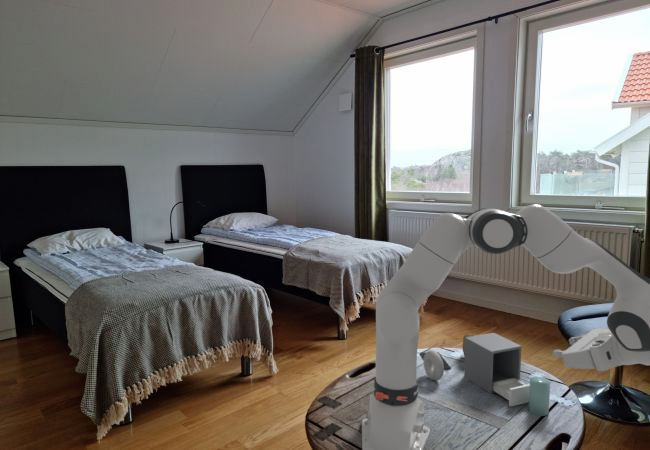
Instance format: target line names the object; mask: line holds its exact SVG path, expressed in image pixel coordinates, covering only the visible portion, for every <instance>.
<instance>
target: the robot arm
mask: <svg viewBox="0 0 650 450" xmlns="http://www.w3.org/2000/svg"><path fill="white" fill-rule="evenodd" d="M519 246H522V247H523V248H525V249H526V250H527V251H528V252H529V253H530V254H531V255H532V256H533V257H534V258H535V259H536V260H537V261H538V262H539V263H540V264H541V265H542V266H543V267H545V268H546V269H548V271H551V272H552V273H555V274H561V275H562V274H563V275H566V274H572V273H575V272H577V271H579V270H581V269H583V268H590V269H591V270H593V271H595V272H596V274H598V275H600V276H601V277H602V278H603V279H605V280H606V281H607V282H609V283H610V284H611V285H613V286H614V289H615V291H616V297H615V299H614V302H613V304H612V306H611V307H610V311H609V313H608V315H607V318H606V324H607V325H606V326H607V328H593V329H591V330H589V332H587V333H586V334H583V335H580V336H579V335H578V336H573V337H570V338H569V339H568V342H569V345H570V346H569V347H568V348H567V349H565V350H561V349H559V348H558V349H555V350H553V351H552V356H553V357H554V358H560V359H562V362H563V364H564V366H565V367H567V368H569V369H576V370H577V369H579V370H593V369H596V371H598V372H606V371H609V370H611V369H613V368H616V367H621V366H631V365H633V366H634V365H637V364H641V365H644V366H650V277H647V276H645V275H643V274H642V273H641V272H638V271H637V270H635V269H633V268H632V267H631V266H630V265H629V264H628V263H626V262H624V261H623V260H622V259H621V258H620V257H618V256H616V255H615V254H614V253H613V252H612V251H610V250H609V249H608V248H606V247H605V246H603V245H602V244H600V243H599V242H597V241H595V240H593V239H591V238H586V237H584V236H582V235H580V234H579V233H578V232H576V231H575V230H574V228H572V226H570V225H569V224H567V223H566V222H565V221H564V220H563V219H562V218H561V217H559V216H558V215H557V214H556V213H554V212H553V211H551V210H549V209H548V208H547V207H545V206H543V205H541V204H528V205H527V206H524V207H523V208H521V209H519V210H518V211H517V212H516V213H512V212H511V213H510V212H508V211H505V210H502V209H501V208H495V207H494V208H493V207H485V208H480V209H478V210H476V211H474V212H472V213H471V214H469V215H466V216H464V217H462V216H460V215H459V214H456V213H452V212H445V213H441V214H440V215H438V217H437V218H436V219H435V220H434V221H433V222H432V223H431V224H430V225H429V226H428V227H427V229H426V230H425V231H424V233H423V234H422V236H421V237H420V238H419V240H418V241H417V242H416V244H415V246H414V247H413V248H412V251H411V252H410V253H409V255H408V256H407V258H406V259H405V260H404V263H403V264H402V265H400V267H399V269H398V270H397V271H396V272H395V274H394V275H393V276H392V277H391V278H390V279H389V281H388V283H387V284H386V285H385V286H384V287H383V289H382V290H381V291H380V293H379V294H378V295H377V298H376V301H375V377H374V382H373V393H372V394H370V395H369V413H368V414H367V415H366V418H363V419H362V420H361V421H362V422H361V450H424V448H425V445H426V444H427V442H428V439H429V438H430V436H431V429H430V427H429V426H427V425H425V424H424V423H425V422H424V421H425V420H424V402H423V401H422V400H421V399H420V398H419V382H418V380H417V371H418V370H417V368H418V366H417V364H418V363H417V362H418V361H417V360H418V357H417V356H418V346H419V345H418V344H419V335H420V314H419V310H420V307H421V305H422V304H423V303H424V302H425V301H426V300H427V299H428V298H429V297H430V296H431V295H432V294H433V293H434V292H436V291H437V290H439V288H440V287H441V285H442V284H443V282H444V281H445V279H446V278H447V276H448V275H449V274H450V272H451V271H452V270H453V267H454V266H455V265H456V263H457V262H458V260H459V258H460V257H461V255H462V254H463V253H465V251H466V250H467V249H469V248H471V247H476V248H477V249H479V250H480V251H483V252H484V253H487V254H491V255H501V254H504V253H508V252H509V251H511V250H513V249H515V248H517V247H519Z"/></svg>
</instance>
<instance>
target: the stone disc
mask: <svg viewBox="0 0 650 450" xmlns="http://www.w3.org/2000/svg"><path fill="white" fill-rule="evenodd" d="M477 335H478V334H475V333H472V332H471V333H469V332H468V333H465V334H464V336H463V339H462V352H463V356H464V357H465V337H471V336H477Z"/></svg>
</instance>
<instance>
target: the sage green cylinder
mask: <svg viewBox="0 0 650 450" xmlns="http://www.w3.org/2000/svg"><path fill="white" fill-rule="evenodd" d="M529 384H530V389H529V402H528V411H529V412H530V413H531V414H533V415H535V416H539V417H545V416H548V415H549V412H550V411H549V410H550V394H551V391H550V390H551V381H550V380H549V379H547V378H546V377H542V376H537V375H536V376H531V377H530V378H529Z"/></svg>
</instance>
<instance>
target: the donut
mask: <svg viewBox="0 0 650 450" xmlns="http://www.w3.org/2000/svg"><path fill="white" fill-rule="evenodd" d="M426 352H427V353H426V354H425V356H424V360H423V368H424V371H425V374H426V376H427V377H428V378H429V379H430V380H431V381H439V380H441V378H443V375H444V371H445V370H444V365H443V361H442V358H441V357H440V355H441V354H440V353H439V354H440V355H439V354H438V353H437V352H438V351H435V350H433V349H431V350H428V351H426Z"/></svg>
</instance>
